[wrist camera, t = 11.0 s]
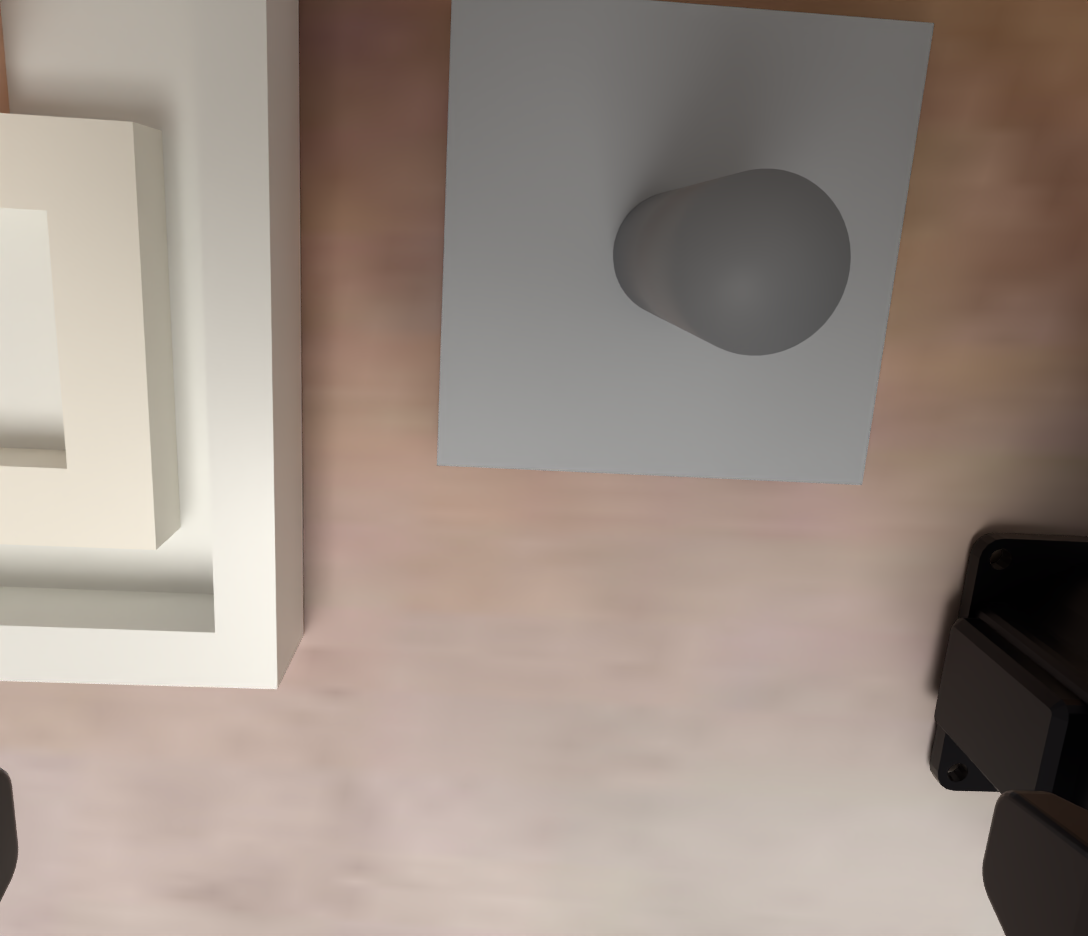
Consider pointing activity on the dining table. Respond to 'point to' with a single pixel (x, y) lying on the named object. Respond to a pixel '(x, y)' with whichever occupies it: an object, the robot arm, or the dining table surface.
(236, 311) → the tray
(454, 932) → the dining table surface
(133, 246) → the ring
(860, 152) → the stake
